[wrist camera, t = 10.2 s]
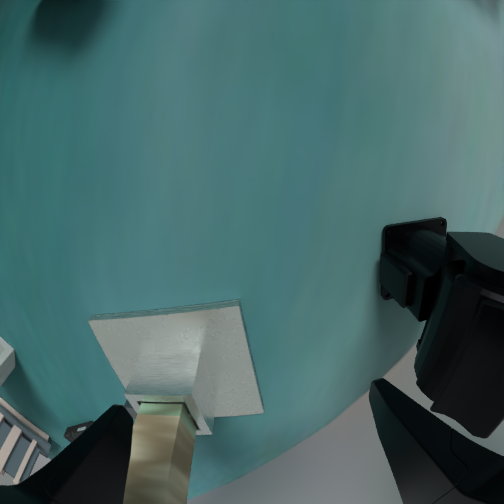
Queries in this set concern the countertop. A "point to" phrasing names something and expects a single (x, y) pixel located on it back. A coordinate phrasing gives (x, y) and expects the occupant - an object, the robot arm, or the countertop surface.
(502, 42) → the countertop surface
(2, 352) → the grey block
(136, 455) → the column
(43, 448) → the desk lamp
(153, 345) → the stand
